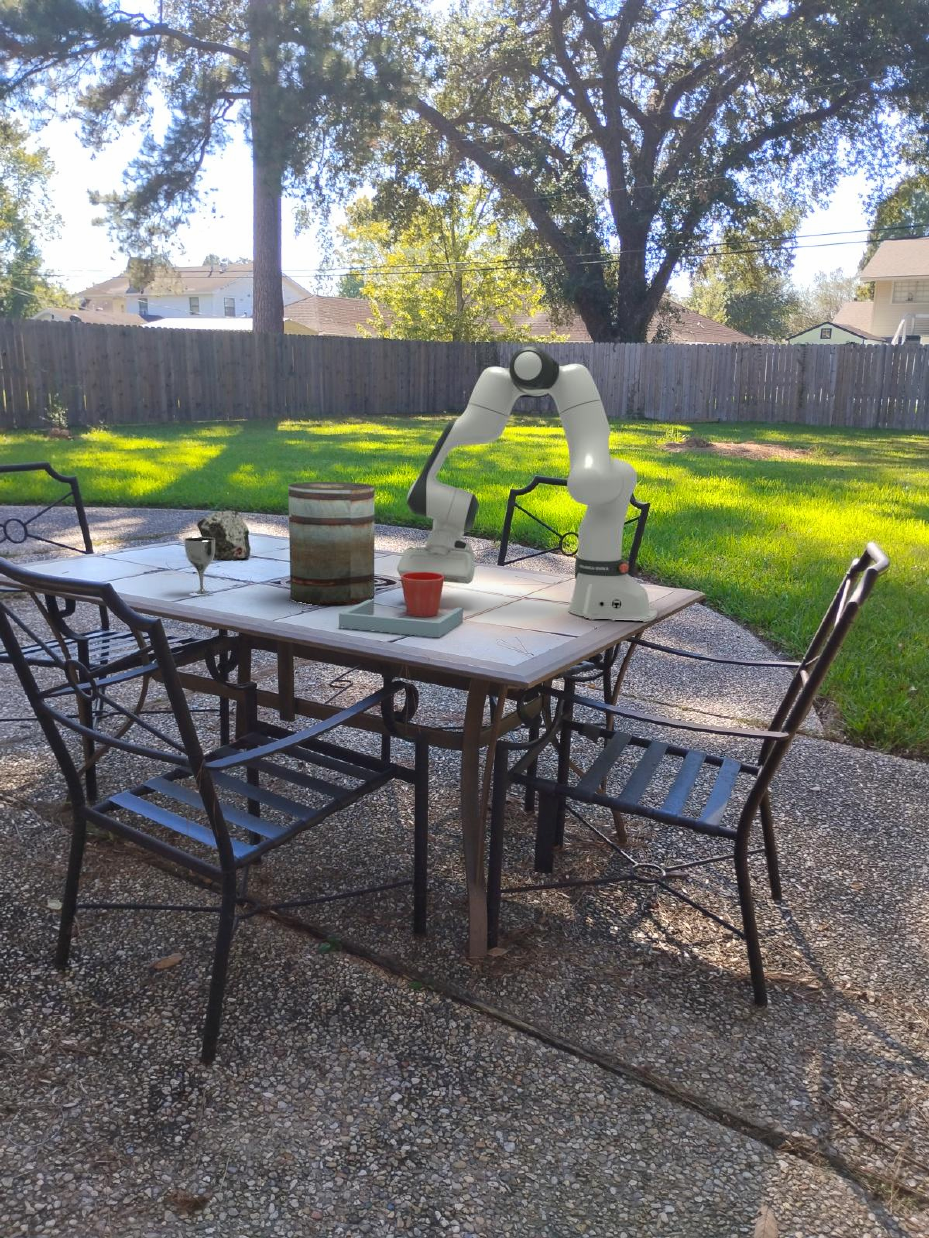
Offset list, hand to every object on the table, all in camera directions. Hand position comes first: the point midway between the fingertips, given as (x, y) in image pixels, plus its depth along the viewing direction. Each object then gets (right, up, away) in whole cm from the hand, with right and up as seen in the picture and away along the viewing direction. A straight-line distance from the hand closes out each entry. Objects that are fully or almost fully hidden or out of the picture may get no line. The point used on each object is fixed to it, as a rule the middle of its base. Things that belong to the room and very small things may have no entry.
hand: (428, 592), depth 257 cm
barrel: (-26, -1, +13) cm, 29 cm away
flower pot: (-1, -6, -4) cm, 7 cm away
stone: (-70, +14, +73) cm, 102 cm away
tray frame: (-6, -8, -16) cm, 19 cm away
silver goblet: (-62, 0, +14) cm, 63 cm away
